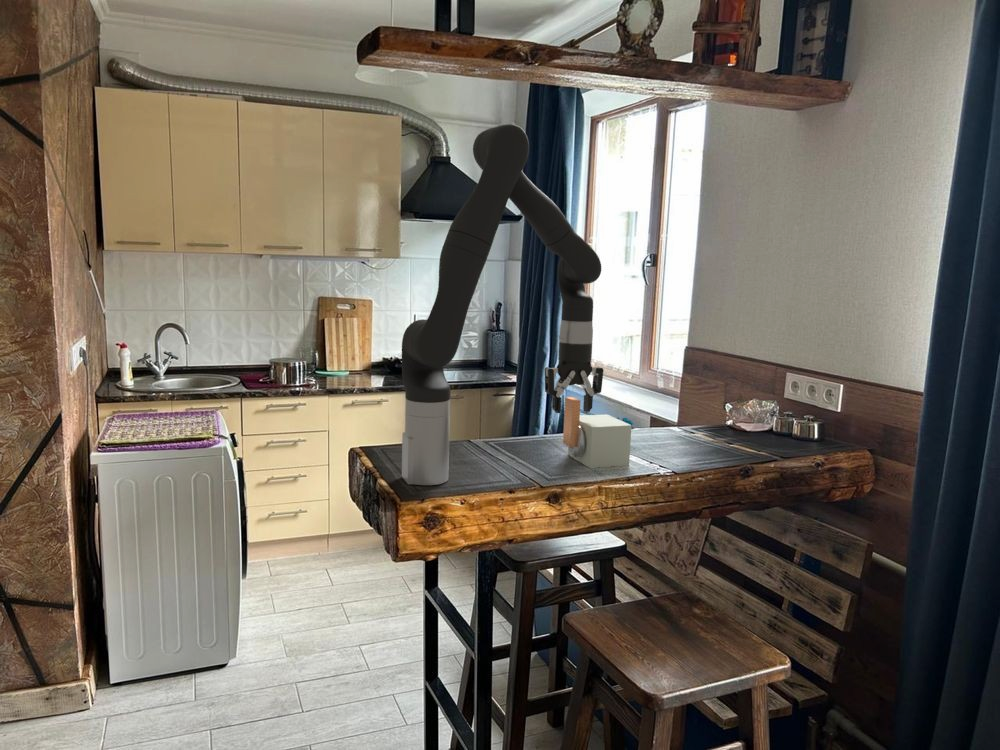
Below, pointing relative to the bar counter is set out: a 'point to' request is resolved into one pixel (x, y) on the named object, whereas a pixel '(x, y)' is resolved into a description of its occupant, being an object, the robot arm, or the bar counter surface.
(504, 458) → the bar counter surface
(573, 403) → the wood and metal l-shape
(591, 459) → the block
